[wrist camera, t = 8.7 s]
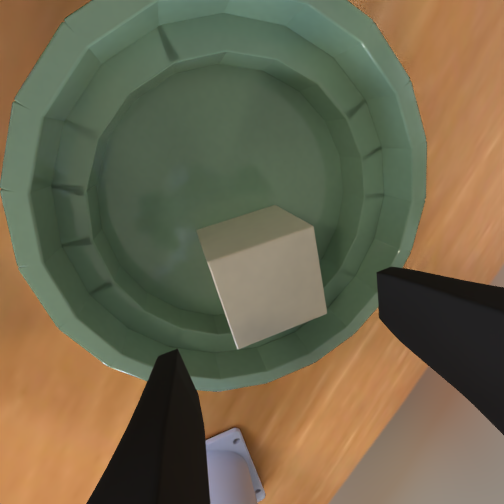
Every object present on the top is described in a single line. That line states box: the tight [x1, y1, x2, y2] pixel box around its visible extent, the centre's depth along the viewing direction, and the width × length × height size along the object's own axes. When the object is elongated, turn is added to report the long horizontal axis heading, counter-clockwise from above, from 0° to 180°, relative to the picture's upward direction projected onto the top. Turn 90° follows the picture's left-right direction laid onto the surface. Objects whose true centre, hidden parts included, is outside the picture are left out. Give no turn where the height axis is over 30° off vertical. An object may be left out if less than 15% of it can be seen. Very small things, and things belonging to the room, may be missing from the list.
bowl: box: [0, 0, 427, 392], centre depth 13 cm, size 17×17×4 cm
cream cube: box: [196, 205, 327, 349], centre depth 14 cm, size 4×4×4 cm
